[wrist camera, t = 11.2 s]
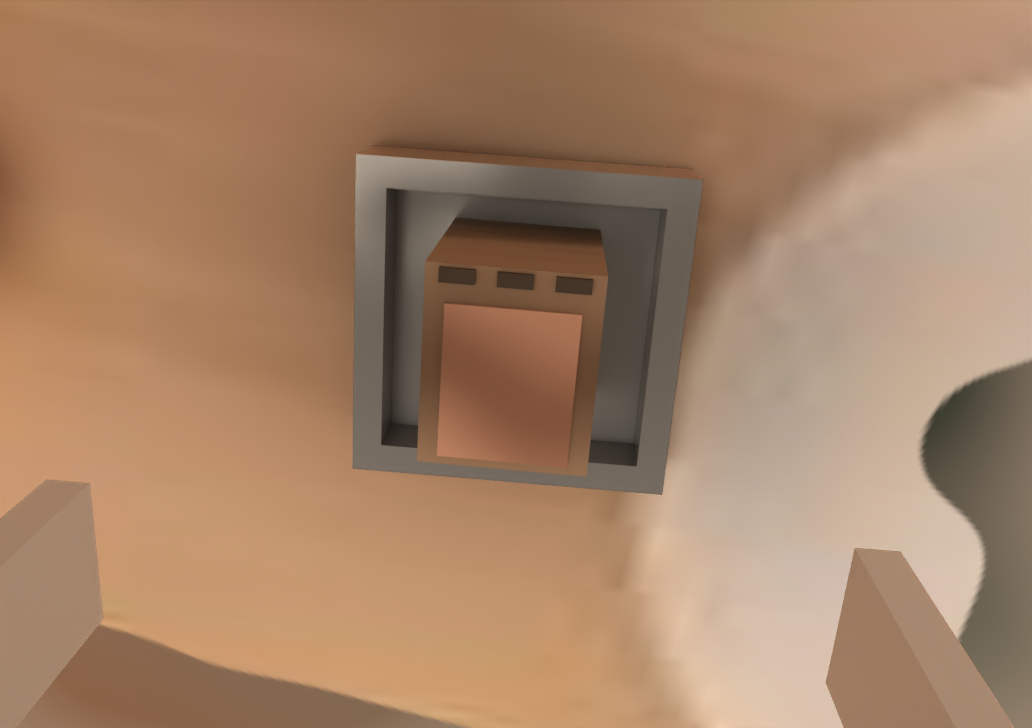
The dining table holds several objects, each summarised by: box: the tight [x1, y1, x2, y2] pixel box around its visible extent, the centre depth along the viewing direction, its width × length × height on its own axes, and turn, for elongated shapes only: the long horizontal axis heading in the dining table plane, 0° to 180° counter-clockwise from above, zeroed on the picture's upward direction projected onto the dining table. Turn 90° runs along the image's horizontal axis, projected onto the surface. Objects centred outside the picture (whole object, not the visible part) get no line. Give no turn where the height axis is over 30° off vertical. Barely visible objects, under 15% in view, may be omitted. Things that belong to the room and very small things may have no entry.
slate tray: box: [353, 146, 703, 495], centre depth 32 cm, size 11×11×3 cm
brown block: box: [417, 218, 608, 477], centre depth 29 cm, size 6×5×7 cm
